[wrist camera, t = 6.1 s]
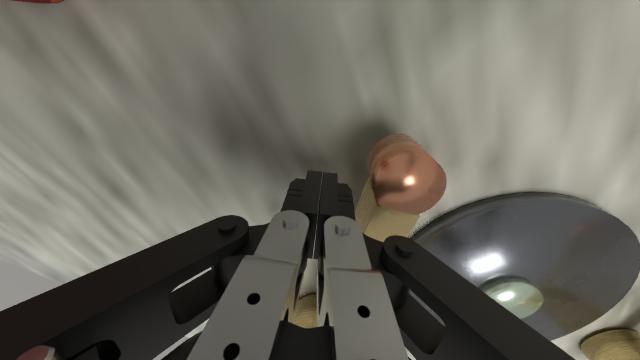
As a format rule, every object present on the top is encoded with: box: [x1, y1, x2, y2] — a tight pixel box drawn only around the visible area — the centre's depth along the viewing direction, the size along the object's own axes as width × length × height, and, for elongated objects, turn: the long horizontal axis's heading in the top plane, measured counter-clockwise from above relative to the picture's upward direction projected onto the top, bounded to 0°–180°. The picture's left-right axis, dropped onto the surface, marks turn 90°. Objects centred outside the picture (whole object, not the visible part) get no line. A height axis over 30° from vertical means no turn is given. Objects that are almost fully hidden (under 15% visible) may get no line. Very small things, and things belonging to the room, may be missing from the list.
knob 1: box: [293, 134, 446, 328], centre depth 15 cm, size 20×4×5 cm, turn 167°
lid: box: [409, 192, 640, 341], centre depth 17 cm, size 16×16×2 cm
